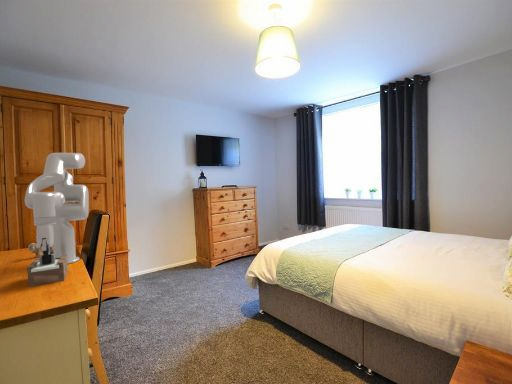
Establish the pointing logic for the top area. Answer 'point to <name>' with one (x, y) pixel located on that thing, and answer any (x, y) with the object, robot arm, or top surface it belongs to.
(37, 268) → the cover plate
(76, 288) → the top surface
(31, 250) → the lion figurine
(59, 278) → the slide box
